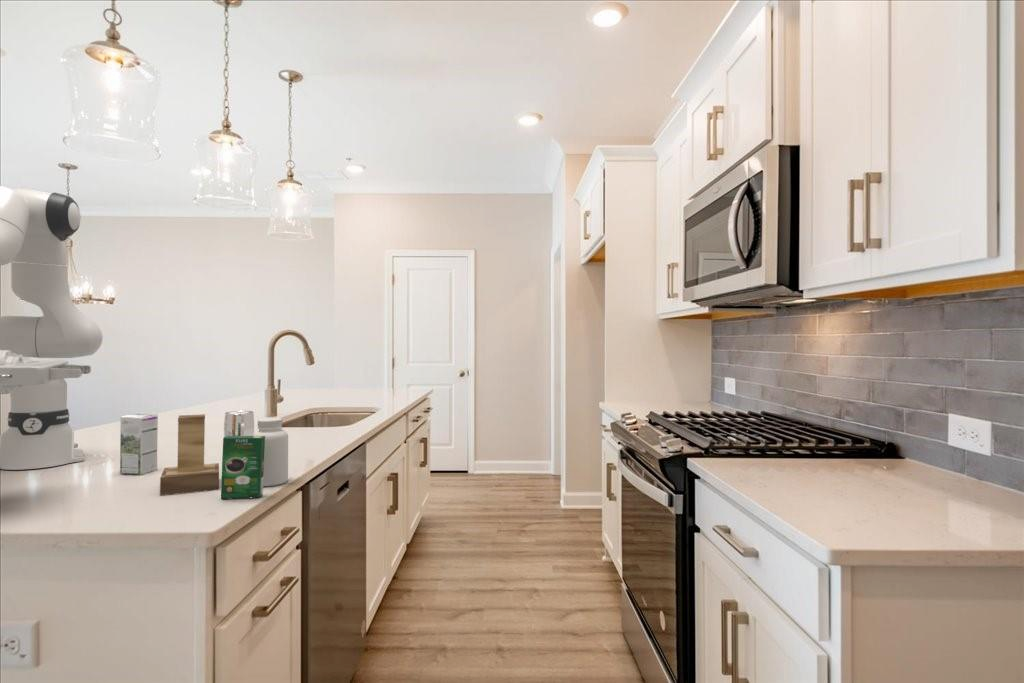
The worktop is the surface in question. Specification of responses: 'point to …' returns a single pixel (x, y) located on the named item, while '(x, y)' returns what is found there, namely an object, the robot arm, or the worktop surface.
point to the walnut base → (189, 480)
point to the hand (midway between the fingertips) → (85, 371)
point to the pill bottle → (274, 451)
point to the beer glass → (239, 423)
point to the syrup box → (138, 443)
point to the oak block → (191, 442)
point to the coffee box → (242, 466)
